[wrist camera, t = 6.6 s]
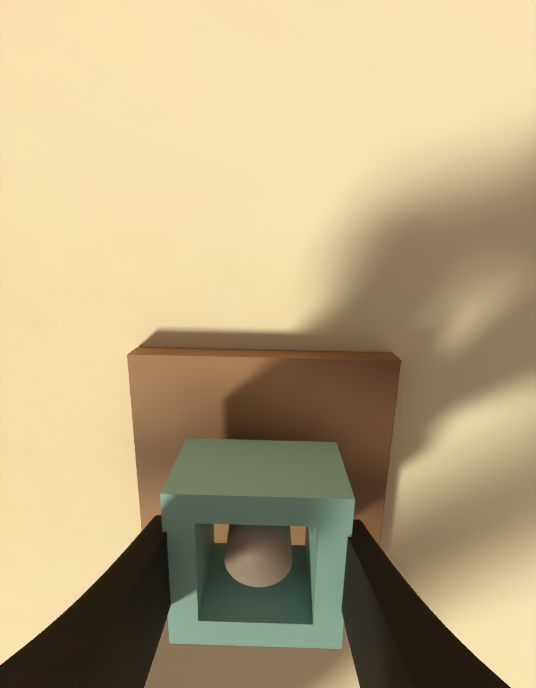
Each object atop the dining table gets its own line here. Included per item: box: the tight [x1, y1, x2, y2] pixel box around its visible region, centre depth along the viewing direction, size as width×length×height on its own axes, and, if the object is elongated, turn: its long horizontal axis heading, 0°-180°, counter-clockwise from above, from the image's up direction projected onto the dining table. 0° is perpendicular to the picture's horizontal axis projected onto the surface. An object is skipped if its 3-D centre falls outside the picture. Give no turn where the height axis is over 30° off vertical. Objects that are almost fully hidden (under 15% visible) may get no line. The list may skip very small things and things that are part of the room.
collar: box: [160, 438, 355, 649], centre depth 12 cm, size 5×5×3 cm
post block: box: [127, 347, 401, 587], centre depth 13 cm, size 10×10×5 cm
